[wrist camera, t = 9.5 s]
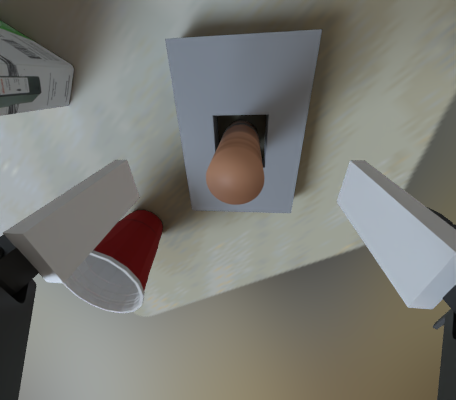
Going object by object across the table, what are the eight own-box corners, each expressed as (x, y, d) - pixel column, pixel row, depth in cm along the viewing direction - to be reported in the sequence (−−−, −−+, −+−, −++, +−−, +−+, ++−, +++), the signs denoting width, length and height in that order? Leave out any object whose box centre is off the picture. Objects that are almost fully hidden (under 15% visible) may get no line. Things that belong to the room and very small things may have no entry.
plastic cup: (120, 182, 28) (49, 239, 18) (187, 215, 31) (155, 283, 20) (107, 229, 34) (46, 293, 24) (164, 254, 36) (130, 323, 26)
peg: (223, 118, 22) (202, 150, 12) (259, 118, 22) (267, 150, 12) (225, 153, 25) (207, 204, 14) (257, 153, 24) (263, 206, 14)
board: (176, 44, 19) (165, 38, 17) (311, 36, 18) (322, 29, 15) (197, 198, 29) (192, 210, 26) (287, 200, 27) (290, 213, 25)
